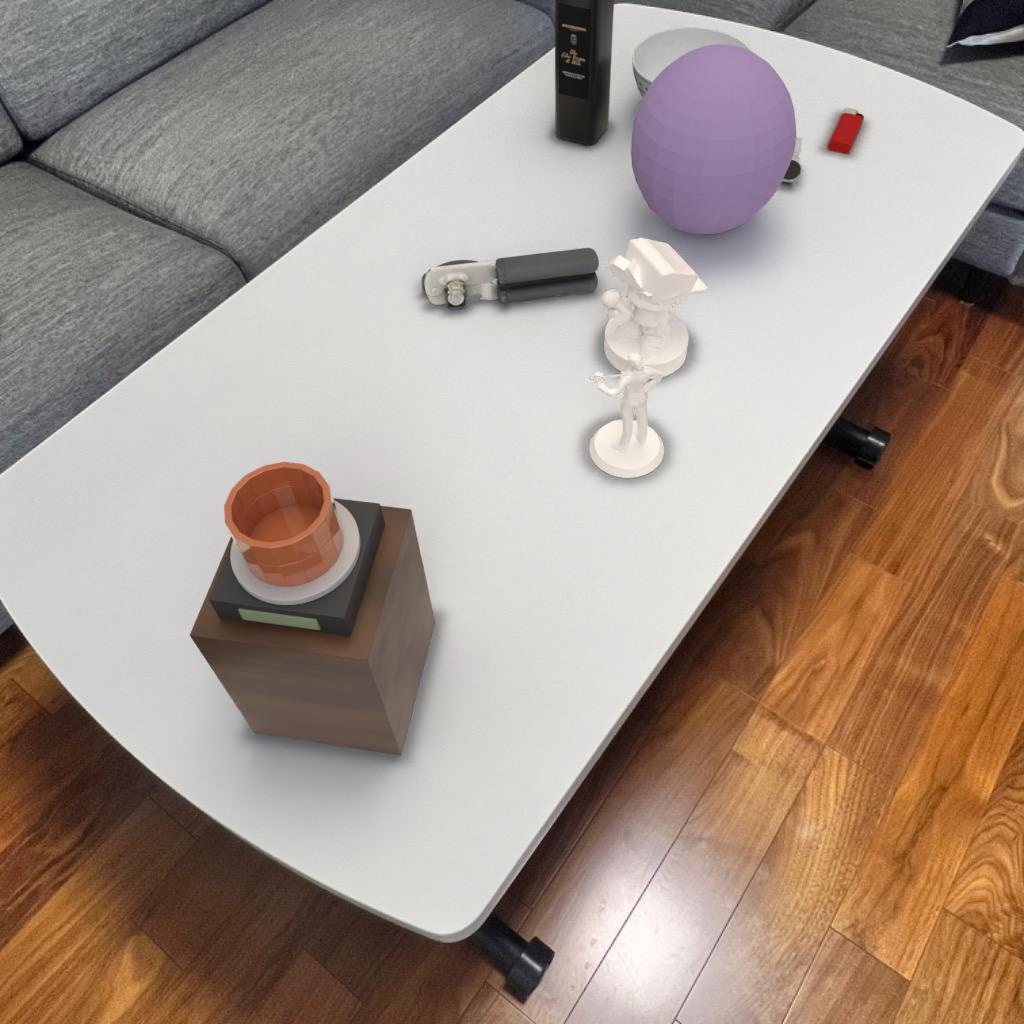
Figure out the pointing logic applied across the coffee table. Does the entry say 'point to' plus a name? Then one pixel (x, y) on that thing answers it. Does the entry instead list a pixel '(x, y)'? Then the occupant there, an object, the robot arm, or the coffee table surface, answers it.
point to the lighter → (846, 131)
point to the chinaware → (672, 50)
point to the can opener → (513, 277)
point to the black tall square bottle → (582, 68)
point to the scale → (316, 602)
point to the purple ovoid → (713, 139)
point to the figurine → (628, 425)
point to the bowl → (285, 523)
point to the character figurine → (648, 306)
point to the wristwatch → (794, 164)
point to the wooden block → (334, 657)
